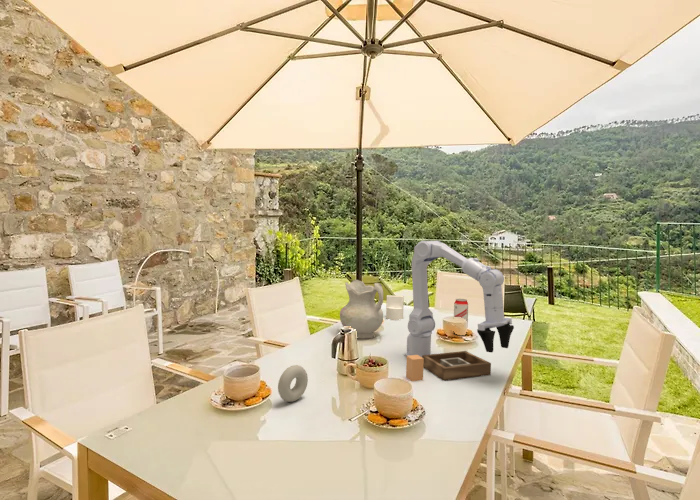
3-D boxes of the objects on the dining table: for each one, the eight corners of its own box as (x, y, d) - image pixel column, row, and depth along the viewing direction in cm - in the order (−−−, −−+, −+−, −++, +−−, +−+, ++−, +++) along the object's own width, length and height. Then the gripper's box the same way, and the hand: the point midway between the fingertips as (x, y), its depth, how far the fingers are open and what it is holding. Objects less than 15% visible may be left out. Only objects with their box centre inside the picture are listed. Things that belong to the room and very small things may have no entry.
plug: (406, 376, 135) (406, 355, 135) (416, 375, 137) (417, 354, 136) (411, 381, 131) (412, 359, 131) (422, 379, 133) (423, 358, 132)
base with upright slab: (385, 319, 215) (385, 297, 215) (386, 316, 224) (387, 294, 223) (402, 320, 214) (403, 297, 213) (403, 317, 223) (404, 295, 222)
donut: (283, 408, 110) (283, 371, 110) (275, 404, 112) (275, 368, 112) (310, 397, 118) (310, 362, 117) (301, 393, 120) (302, 360, 119)
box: (421, 366, 145) (422, 355, 145) (465, 361, 151) (465, 350, 151) (444, 381, 132) (444, 368, 132) (490, 374, 138) (491, 363, 138)
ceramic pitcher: (394, 337, 185) (397, 282, 186) (373, 344, 169) (376, 283, 169) (353, 330, 197) (356, 278, 197) (330, 336, 180) (333, 279, 181)
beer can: (467, 336, 186) (469, 301, 185) (453, 335, 187) (454, 300, 186) (466, 333, 192) (467, 298, 191) (452, 332, 193) (453, 298, 192)
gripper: (489, 310, 126) (493, 355, 125) (518, 305, 134) (522, 347, 133) (471, 309, 132) (474, 352, 131) (500, 304, 140) (503, 344, 139)
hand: (497, 349), depth 133 cm, fingers open, 7 cm apart
